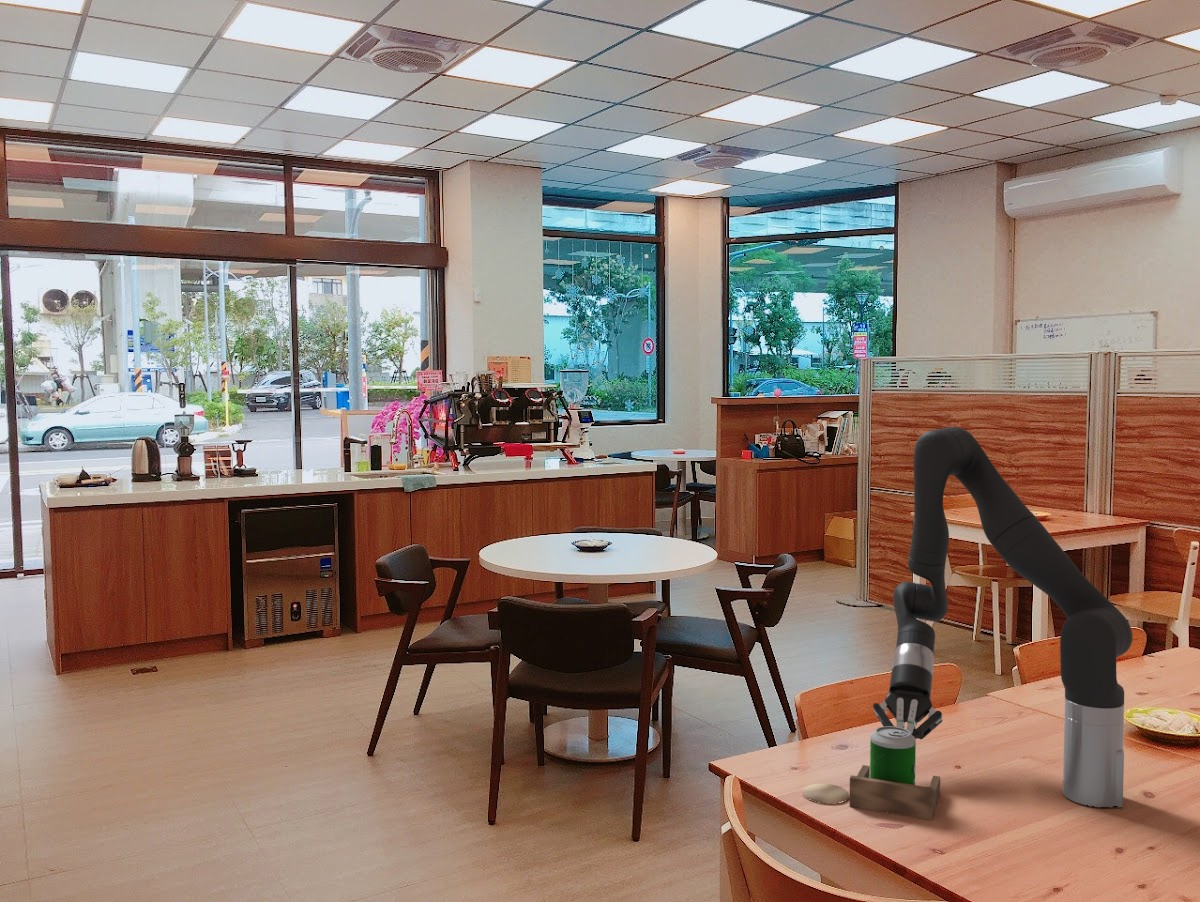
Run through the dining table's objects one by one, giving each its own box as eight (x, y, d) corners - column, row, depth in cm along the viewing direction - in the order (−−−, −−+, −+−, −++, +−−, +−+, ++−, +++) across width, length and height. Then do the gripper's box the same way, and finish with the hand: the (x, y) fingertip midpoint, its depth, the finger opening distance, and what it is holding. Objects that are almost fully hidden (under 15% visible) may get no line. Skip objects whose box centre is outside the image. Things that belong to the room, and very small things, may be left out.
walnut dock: (939, 793, 175) (940, 765, 175) (931, 820, 164) (931, 790, 164) (862, 781, 181) (863, 754, 180) (849, 806, 169) (849, 777, 169)
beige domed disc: (852, 790, 176) (852, 787, 176) (843, 807, 169) (843, 804, 169) (808, 783, 180) (808, 780, 180) (797, 799, 172) (797, 796, 172)
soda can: (915, 810, 168) (916, 740, 167) (869, 805, 170) (870, 736, 169) (914, 793, 175) (915, 726, 174) (870, 789, 177) (870, 723, 176)
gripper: (874, 658, 190) (862, 741, 180) (947, 666, 185) (939, 752, 174) (878, 678, 195) (867, 760, 185) (949, 686, 190) (942, 771, 179)
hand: (902, 756), depth 180 cm, fingers closed
